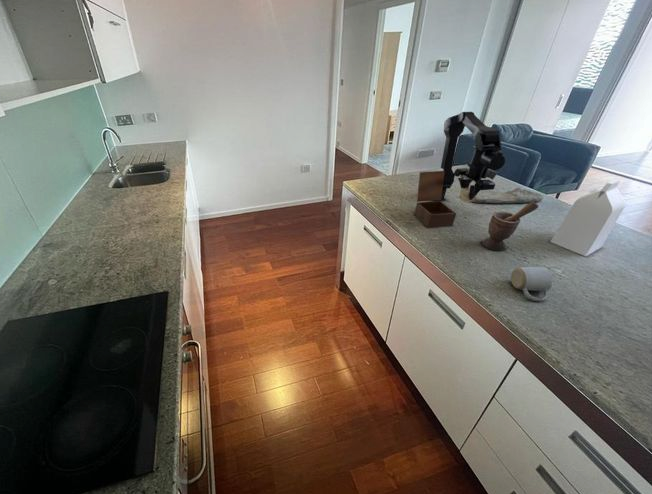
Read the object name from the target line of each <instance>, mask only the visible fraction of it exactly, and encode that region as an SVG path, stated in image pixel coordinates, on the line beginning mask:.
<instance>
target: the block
mask: <svg viewBox="0 0 652 494" xmlns="http://www.w3.org/2000/svg"><path fill="white" fill-rule="evenodd" d="M477 194H479V192H478V193H477ZM469 195H470V187H469V188H462V189H461V188H460V192H459V195H458V198H459V200H462V201H463V202H464V203H468V202H469V203H470V202H472V201H475V199H476V196H477V195H476V196H475V197H474V198H473V199H472V200H470V199H469Z"/></svg>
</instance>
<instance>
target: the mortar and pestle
mask: <svg viewBox="0 0 652 494" xmlns="http://www.w3.org/2000/svg"><path fill="white" fill-rule="evenodd" d="M538 208H539V204H538V203H537V202H531V203H527V204H526V205H525V206H523V207H522V208H521V209H520V210H518V211H517V212H516V213H511V212H507V211H494V212H493V213H492V216H491V218H490V220H489V223H488V230H487V232H488V235H489V237H486V238H485V239H483V241H482V245H483V246H484V247H485V248H487V249H488V250H492V251H499V252H501V251H504V250H505V248H506V243H505V242H504V241H505V240H508V239H509V238H510V237H511V236H512V235H513V234H514V232H516V230H517V229H518V227H519V224H520V223H521V218H523V217H524V216H526V215H528V214H530V213H532V212H534V211H536V210H537V209H538Z"/></svg>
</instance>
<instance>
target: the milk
mask: <svg viewBox="0 0 652 494" xmlns="http://www.w3.org/2000/svg"><path fill="white" fill-rule="evenodd" d="M620 182H621V180H618V179H613V180H610V181H607V182H606V183H605V185H604V186H603V187H602V188H600V187H597V188H594V189H591V190H589V191H588V192H589V193H588V194H585V195H582V196H580V197H578V198H577V199H576V200H575V201H574V202H573V204H572V206H571V207H570V209H569V211H568V212H567V214H566V215H565V217H564V218H563V220H562V222H561V224H560V225H559V227H558V228H557V230H556V232H554V235H553V237H552V238H551V239H550V243H552V244H554V245H556V246H558V247H561V248H564V249H567V250H569V251H572V252H574V253H576V254H579V255H581V256H584V257H587V256H589V255H591V254H592V253H595V252H596V251H597V250H599V249H601V248H602V247H603V245H604V243H605V241H606V240H607V238H608V237H609V236H610V233H611V231H612V229H613V228H614V226H615V225H616V223H617V221H618V219H619V218H620V216H621V214H622V213H623V211H624V209H625V207H626V206H627V203H626V202H627V201H626V200H625V197H624V196H623V195H622V194H621V191H620V190H619V189H618V185H619V184H620Z"/></svg>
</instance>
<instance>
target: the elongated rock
mask: <svg viewBox="0 0 652 494" xmlns="http://www.w3.org/2000/svg"><path fill="white" fill-rule="evenodd" d="M543 199H544V195H543V194H541V193H538V192H534V191H532V190H529V189H526V188H525V189H524V188H521V187H516V188H514V189H512V190H507V191H505V192H485V193H484V192H481V193H480V192H479V193H478V194H477V196H476V199H475V201H471V202H472V203H475V204H509V205H510V204H516V203H517V204H525V203H527V204H529V203H531V202H535V203H537V202H541V201H542V200H543Z"/></svg>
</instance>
